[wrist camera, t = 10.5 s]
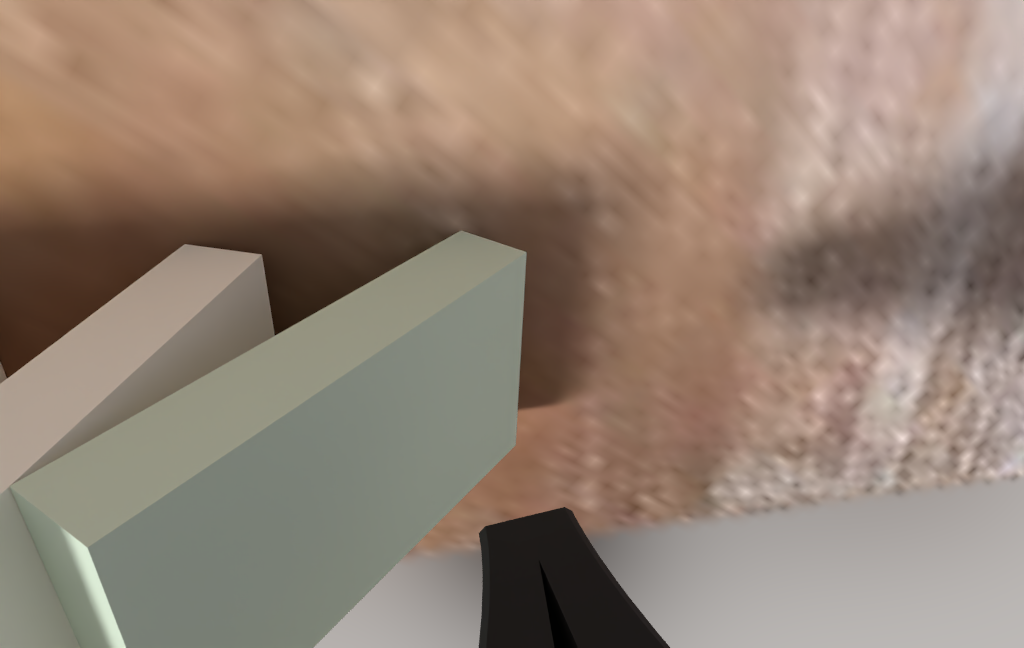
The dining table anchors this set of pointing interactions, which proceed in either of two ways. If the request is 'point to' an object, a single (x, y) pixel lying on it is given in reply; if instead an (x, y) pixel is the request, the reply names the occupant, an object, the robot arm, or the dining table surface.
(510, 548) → the robot arm
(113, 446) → the sage domino
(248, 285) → the domino
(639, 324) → the dining table surface
